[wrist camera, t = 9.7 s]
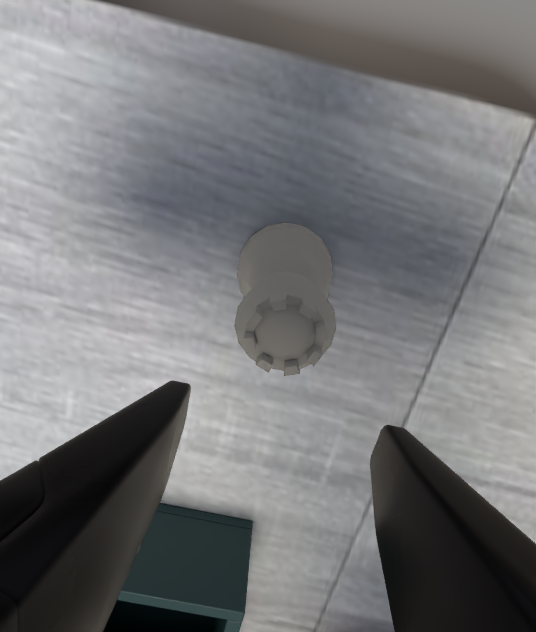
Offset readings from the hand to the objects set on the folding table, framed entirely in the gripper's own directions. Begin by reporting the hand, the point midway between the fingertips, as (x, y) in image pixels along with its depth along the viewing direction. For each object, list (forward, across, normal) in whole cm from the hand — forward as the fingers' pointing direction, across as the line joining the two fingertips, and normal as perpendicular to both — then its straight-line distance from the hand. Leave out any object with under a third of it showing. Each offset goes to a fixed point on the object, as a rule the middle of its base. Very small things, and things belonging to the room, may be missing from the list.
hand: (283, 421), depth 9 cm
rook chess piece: (+12, 0, 0) cm, 12 cm away
